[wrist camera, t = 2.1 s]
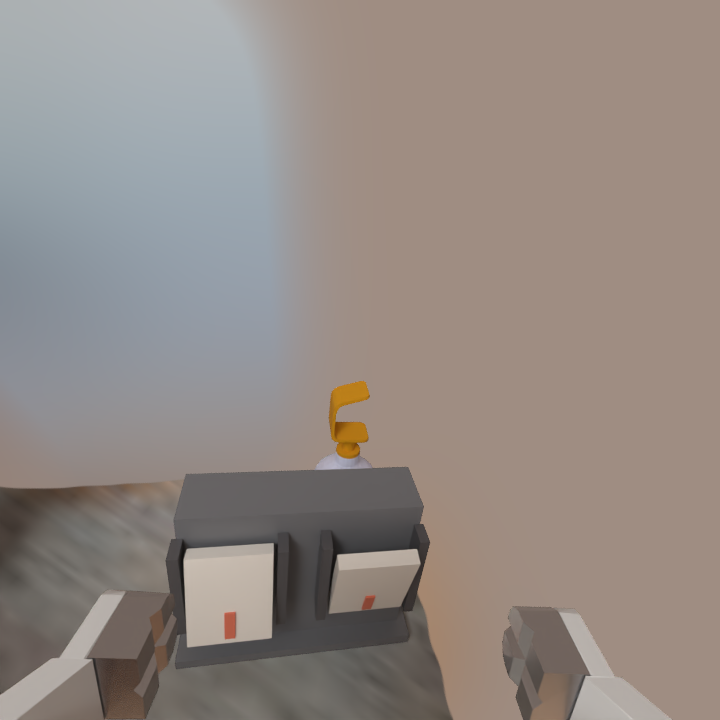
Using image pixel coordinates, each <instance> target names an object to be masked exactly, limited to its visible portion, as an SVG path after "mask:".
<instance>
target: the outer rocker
mask: <svg viewBox="0 0 720 720" xmlns="http://www.w3.org/2000/svg"><path fill="white" fill-rule="evenodd" d="M420 564H421V563H420V559H419V555H418V551H417V549H409V550H395V551H381V552H368V553H354V554H340V555H337V559H336V563H335V568H334V572H333V577H332V581H331V586H330V591H329V595H328V610H329V614H332V613H342V612H352V611H362V610H372V609H382V608H392V607H400V606H401V604H402V602H403V600H404V598H405V595H406V593H407V591H408V589H409V587H410V585H411V583H412V581H413V579H414V577H415V575H416V573H417V571H418V568H419V566H420Z"/></svg>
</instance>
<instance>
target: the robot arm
mask: <svg viewBox="0 0 720 720" xmlns="http://www.w3.org/2000/svg"><path fill="white" fill-rule="evenodd" d="M174 607H175V599H174V594H170V593H156V592H141V591H123V590H106V591H105V592H104V593H103V594H102V595H101V596H100V597H99V599H98V600H97V602H96V603H95V605H94V606H93V608H92V609H91V611H90V612H89V614H88V615H87V617H86V618H85V620H84V621H83V623H82V624H81V626H80V627H79V629H78V630H77V632H76V633H75V635H74V636H73V638H72V639H71V641H70V642H69V644H68V645H67V647H66V649H65V650H64V652H63V653H62V655H61V656H60V658H51V659H50V660H49V661H47V662H46V663H44V664H43V665H42V666H40V667H39V668H38V669H36V670H35V671H33V672H32V673H31V674H29V675H28V676H26V677H25V678H24V679H22V680H21V681H19V682H18V683H17V684H15V685H14V686H12V687H11V688H10V689H8V690H7V691H5V692H4V693H3V694H1V695H0V720H104V719H146V717H147V715H148V712H149V710H150V707H151V705H152V703H153V700H154V698H155V695H156V693H157V690H158V688H159V678H158V673H160V672H161V671H162V670H163V669H164V668H165V667H166V666H167V665H168V663H169V661H170V658H171V656H172V653H173V650H174V646H175V642H176V638H177V619H176V617H175V616H174V615H173V614H172V611H173V609H174ZM508 619H509V622H510V624H511V626H510V627H509V628H508V629H507V630H505V632H504V637H503V641H502V642H503V657H504V662H505V666H506V669H507V673H508V675H509V677H510V678H511V679H512V680H513V681H514V683H516V684H517V686H518V690H517V694H516V700H517V703H518V706H519V709H520V711H521V714H522V717H523V720H672V719H671V718H670V717H668V716H667V715H666V714H665V713H663V712H662V711H661V710H660V709H659V708H658V707H656V706H655V705H654V704H653V703H652V702H651V701H649V700H648V699H647V698H646V697H645V696H644V695H642V694H641V693H640V692H639V691H637V690H636V689H635V688H634V687H633V686H632V685H630V684H629V683H628V682H627V681H626V680H625V679H623V678H622V677H615V675H614V673H613V672H612V670H611V668H610V666H609V665H608V663H607V661H606V659H605V658H604V656H603V654H602V652H601V651H600V649H599V647H598V645H597V644H596V642H595V640H594V638H593V637H592V635H591V633H590V631H589V630H588V628H587V626H586V624H585V623H584V621H583V619H582V617H581V616H580V614H579V612H578V611H576V610H575V609H571V608H551V607H517V606H515V607H514V606H513V607H512V608H511V609H510V612H509V616H508Z"/></svg>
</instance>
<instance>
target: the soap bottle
mask: <svg viewBox="0 0 720 720" xmlns="http://www.w3.org/2000/svg"><path fill="white" fill-rule="evenodd" d="M369 397H370V395H369V392H368V388H367V385H366V382H364V381H359V382H355V383H351V384H347V385H343V386H339V387H337V388H335V389H334V390H333V391H332V393H331V401H330V411H329V422H330V429H331V437H332V439H333V440H334V441H335V442H339V444H338V445H337V448H336V453H334V454H331V455H328V456H326V457H325V458H323V459H322V460H321V461H320V462H319V464H318V465H317V466H316V468H315V470H330V469H361V468H372V466H371V464H370V463H369V462H368V461H367V460H365V459H364V458H362V457H360V456H359V454H360V447H359V445H358V444H356V443H362V442H367V441H368V434H367V430H366V426H365V424H364V423H361V422H335V420H336V413H337V411H338V409H339V408H340V407H342V406H344V405H348V404H352V403H355V402H360V401H364V400H367V399H368V398H369Z"/></svg>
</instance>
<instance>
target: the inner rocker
mask: <svg viewBox="0 0 720 720" xmlns="http://www.w3.org/2000/svg"><path fill="white" fill-rule="evenodd" d="M273 559H274V543H267V544H251V545H236V546H221V547H206V548H190V549H187V550H186V553H185V557H184V584H185V608H186V632H187V647H196V646H205V645H214V644H223V643H233V642H242V641H251V640H260V639H269V638H272V604H273Z"/></svg>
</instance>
